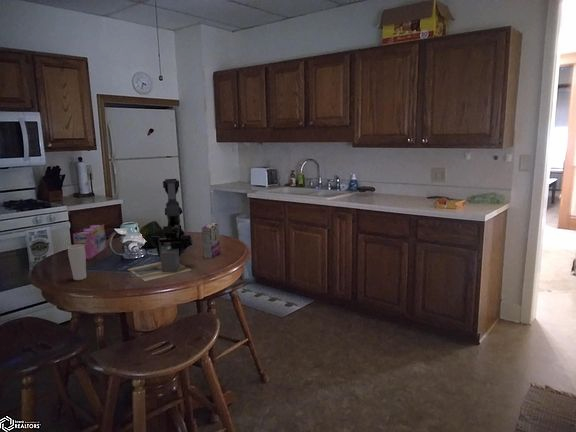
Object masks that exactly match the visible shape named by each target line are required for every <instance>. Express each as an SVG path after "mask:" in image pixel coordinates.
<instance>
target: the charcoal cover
mask: <svg viewBox="0 0 576 432" xmlns="http://www.w3.org/2000/svg"><path fill="white" fill-rule="evenodd" d="M160 254H161V256H160V262H161V265H162V272H177V270H178V269H179V268H180V264H181V263H180V257H179V249H171V248H164V249H163V250H161V253H160Z"/></svg>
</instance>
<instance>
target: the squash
mask: <svg viewBox="0 0 576 432" xmlns="http://www.w3.org/2000/svg"><path fill="white" fill-rule="evenodd" d="M161 226H162V225H160V224H159V223H158V221H156V220H153V221H150V222H149V223H146V224H145V225H143V226H142V227H140V229H139V231H140V233H141V234H142V236H143V238H144V239H145V240H146V241H147V242H146V243H145V245H144V246H145V247H144V248H149V247H153V246H152V244H151V242H150V237H151V236H159V237H160V239H165V238H166V237H164V234H163V227H161ZM163 244H164V243H162V244H161V246H162V245H163Z"/></svg>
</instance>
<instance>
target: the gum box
mask: <svg viewBox="0 0 576 432" xmlns="http://www.w3.org/2000/svg"><path fill="white" fill-rule="evenodd" d="M72 238H73V245H76V244H83V245H84V247H85V254H86V260H91V259H93V258H94V257H96V255H98V254H99V253H101V252H102V251H103V250H105V249H106V248H108V245H107V237H106V230H105V224H104V223H102V224H101V225H100V224H97V225H96V224H93V223H92V224H89V225H87V226H85V227H83V228H82V229H80V230H78V231H76V232H74V233H73V234H72Z"/></svg>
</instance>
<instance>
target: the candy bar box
mask: <svg viewBox="0 0 576 432" xmlns="http://www.w3.org/2000/svg"><path fill="white" fill-rule="evenodd" d="M201 233H202V247H203V258H204V259H205V258H206V259H214V257H217V256H218V255H219V254H221V247H220V246H221V245H220V244H221V243H220V228H219V222H209V223H207V224H206V225H205V224H204V226H202V227H201Z"/></svg>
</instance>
